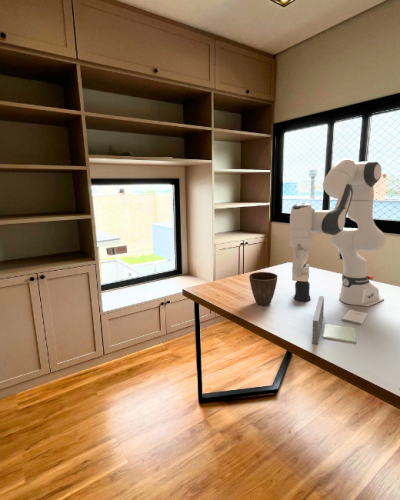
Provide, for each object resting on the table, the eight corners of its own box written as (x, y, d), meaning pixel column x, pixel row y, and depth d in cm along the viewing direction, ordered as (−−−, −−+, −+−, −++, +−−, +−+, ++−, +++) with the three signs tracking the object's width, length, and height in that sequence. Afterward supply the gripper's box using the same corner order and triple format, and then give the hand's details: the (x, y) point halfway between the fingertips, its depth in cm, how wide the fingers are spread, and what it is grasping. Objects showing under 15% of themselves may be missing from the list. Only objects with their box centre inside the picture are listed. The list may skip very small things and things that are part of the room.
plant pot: (277, 299, 164) (277, 272, 160) (277, 310, 150) (277, 280, 146) (251, 298, 168) (250, 271, 164) (248, 308, 154) (247, 279, 150)
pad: (325, 325, 130) (325, 323, 130) (355, 329, 125) (355, 328, 125) (322, 338, 120) (323, 336, 120) (355, 343, 114) (355, 341, 114)
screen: (318, 315, 140) (319, 296, 138) (323, 316, 140) (323, 296, 138) (312, 343, 116) (312, 320, 114) (317, 344, 115) (318, 321, 113)
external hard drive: (341, 321, 134) (349, 312, 143) (361, 326, 129) (367, 316, 138) (341, 318, 134) (349, 309, 143) (361, 322, 128) (367, 313, 137)
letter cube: (294, 276, 129) (294, 262, 128) (308, 277, 126) (309, 263, 125) (292, 280, 124) (292, 266, 122) (307, 281, 121) (307, 267, 120)
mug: (313, 301, 157) (313, 282, 155) (296, 302, 158) (296, 282, 155) (306, 293, 169) (306, 275, 167) (290, 294, 169) (290, 276, 167)
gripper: (305, 248, 111) (305, 282, 114) (311, 238, 129) (311, 268, 132) (288, 247, 114) (288, 280, 117) (296, 238, 132) (296, 267, 135)
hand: (300, 274), depth 125 cm, fingers closed on letter cube, 6 cm apart
